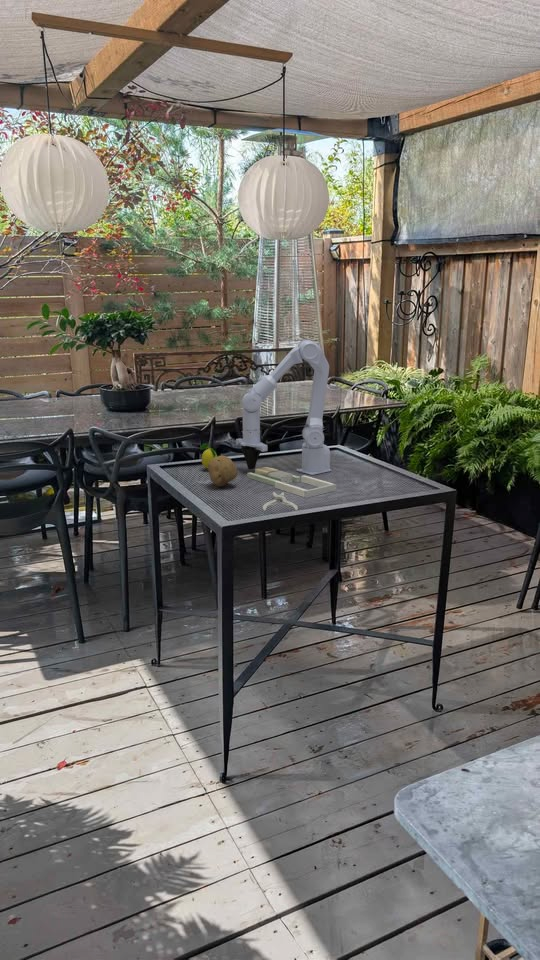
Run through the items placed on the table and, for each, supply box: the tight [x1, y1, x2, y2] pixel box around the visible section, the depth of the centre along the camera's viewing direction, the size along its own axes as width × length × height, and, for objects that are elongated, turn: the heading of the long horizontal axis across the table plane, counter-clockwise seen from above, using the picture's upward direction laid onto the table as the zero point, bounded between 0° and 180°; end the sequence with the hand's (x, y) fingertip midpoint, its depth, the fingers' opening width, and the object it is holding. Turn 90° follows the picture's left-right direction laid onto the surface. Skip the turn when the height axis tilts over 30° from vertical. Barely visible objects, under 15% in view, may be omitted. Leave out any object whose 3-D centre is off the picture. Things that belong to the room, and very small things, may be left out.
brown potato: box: [207, 454, 238, 488], centre depth 219 cm, size 9×9×10 cm
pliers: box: [262, 491, 299, 512], centre depth 203 cm, size 10×2×15 cm
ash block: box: [254, 466, 279, 478], centre depth 231 cm, size 5×6×3 cm
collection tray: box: [274, 475, 337, 499], centre depth 218 cm, size 12×14×2 cm
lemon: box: [199, 441, 218, 470], centre depth 240 cm, size 7×6×10 cm
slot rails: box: [246, 472, 301, 487], centre depth 229 cm, size 10×15×2 cm, turn 40°
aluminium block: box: [269, 470, 293, 484], centre depth 226 cm, size 5×6×3 cm
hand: (251, 468), depth 237 cm, fingers closed
